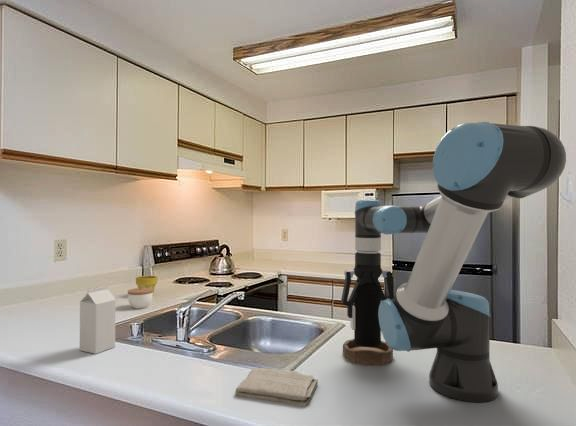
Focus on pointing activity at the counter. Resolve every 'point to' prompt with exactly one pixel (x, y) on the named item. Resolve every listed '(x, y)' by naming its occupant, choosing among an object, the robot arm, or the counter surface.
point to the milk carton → (97, 321)
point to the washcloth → (278, 386)
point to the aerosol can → (367, 316)
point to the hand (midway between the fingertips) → (367, 328)
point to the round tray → (367, 353)
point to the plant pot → (147, 282)
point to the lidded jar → (140, 297)
